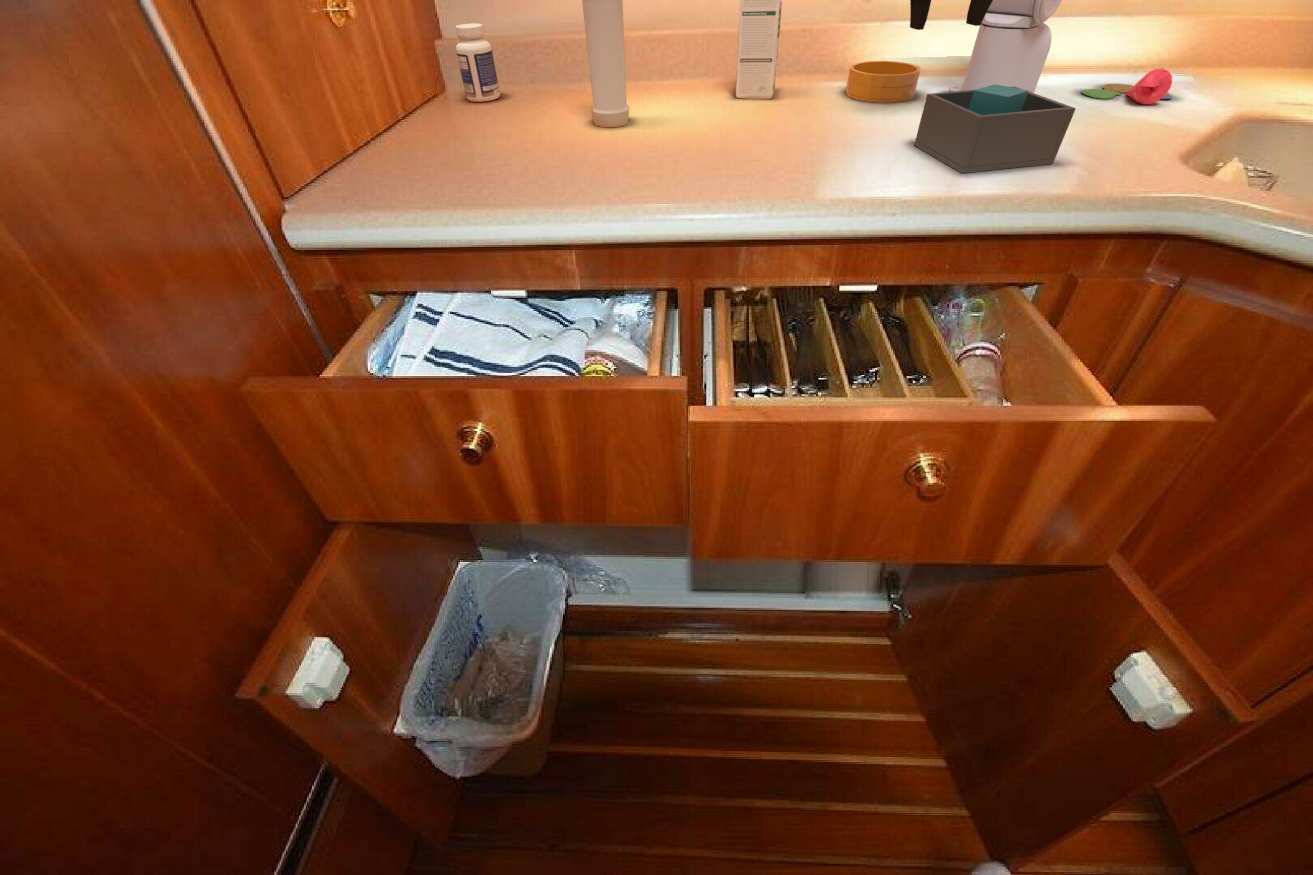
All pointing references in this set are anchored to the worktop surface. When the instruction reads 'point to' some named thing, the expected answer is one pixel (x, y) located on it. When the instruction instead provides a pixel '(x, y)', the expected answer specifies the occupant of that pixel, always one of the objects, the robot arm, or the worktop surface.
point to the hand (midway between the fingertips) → (944, 26)
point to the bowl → (882, 81)
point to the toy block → (997, 100)
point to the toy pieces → (1138, 88)
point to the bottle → (606, 61)
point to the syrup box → (757, 48)
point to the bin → (991, 132)
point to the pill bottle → (476, 64)
